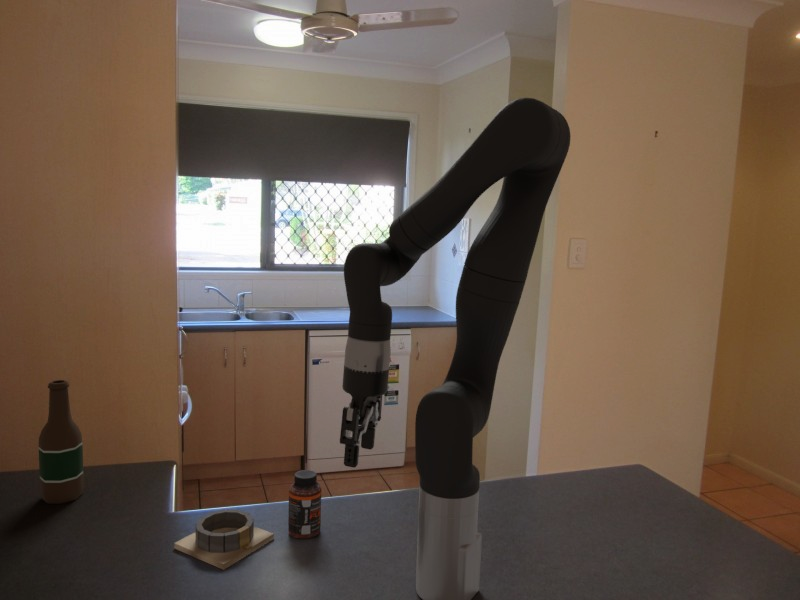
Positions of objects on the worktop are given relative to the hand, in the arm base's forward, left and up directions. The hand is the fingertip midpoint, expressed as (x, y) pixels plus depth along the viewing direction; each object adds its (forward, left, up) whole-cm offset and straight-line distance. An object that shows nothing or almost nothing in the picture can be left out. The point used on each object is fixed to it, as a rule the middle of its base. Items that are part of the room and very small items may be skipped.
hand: (359, 456), depth 104 cm
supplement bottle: (+13, -1, -18) cm, 22 cm away
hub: (+22, +10, -18) cm, 30 cm away
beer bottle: (+63, +15, -18) cm, 67 cm away
